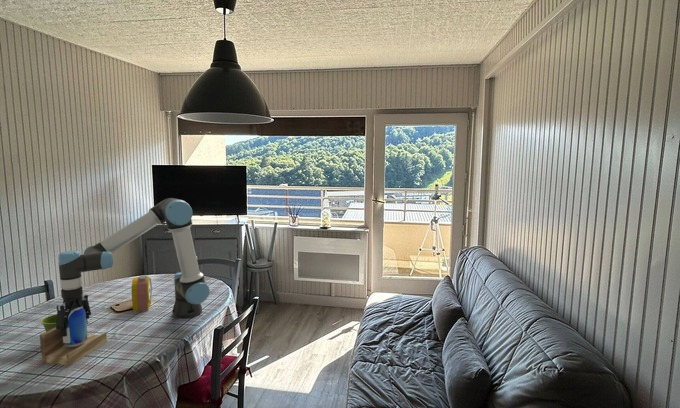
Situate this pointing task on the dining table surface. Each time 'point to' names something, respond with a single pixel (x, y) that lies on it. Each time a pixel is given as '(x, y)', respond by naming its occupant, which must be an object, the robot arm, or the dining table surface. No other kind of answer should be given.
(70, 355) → the cleat board
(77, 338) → the beer can
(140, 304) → the alarm clock
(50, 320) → the plant pot
